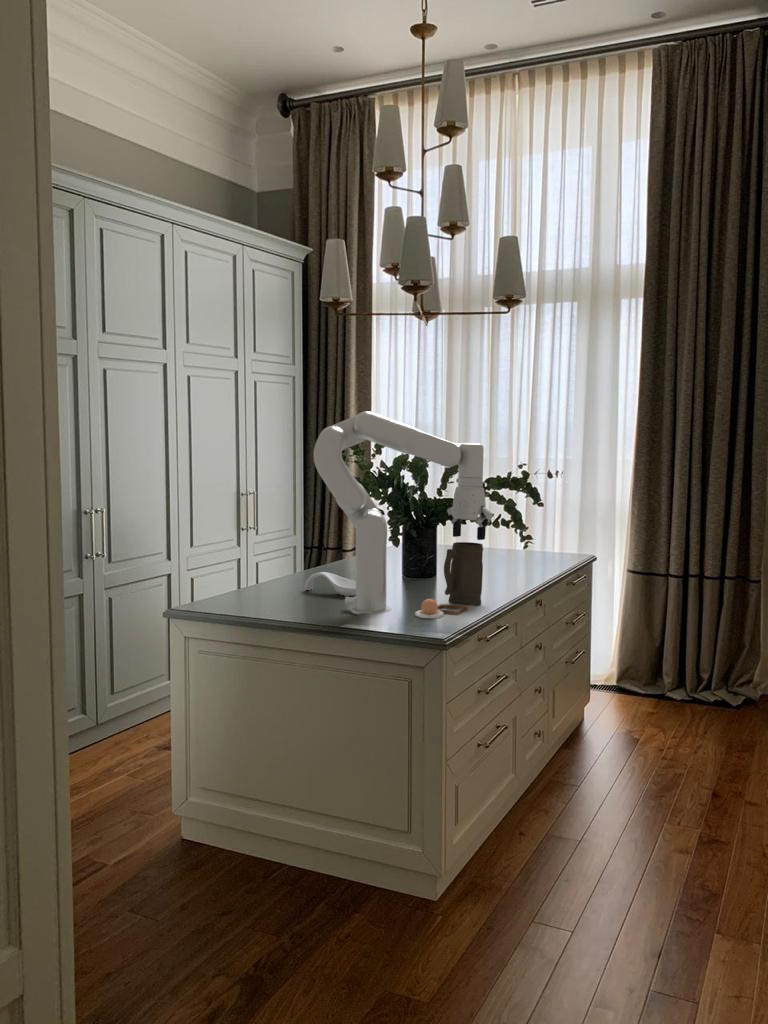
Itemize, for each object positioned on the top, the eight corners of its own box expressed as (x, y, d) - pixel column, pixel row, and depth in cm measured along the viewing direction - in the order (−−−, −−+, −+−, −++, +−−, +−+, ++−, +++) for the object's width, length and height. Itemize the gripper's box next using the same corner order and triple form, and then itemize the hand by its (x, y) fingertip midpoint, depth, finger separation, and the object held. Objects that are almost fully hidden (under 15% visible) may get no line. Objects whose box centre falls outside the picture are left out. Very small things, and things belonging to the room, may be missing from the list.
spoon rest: (374, 594, 318) (374, 573, 317) (358, 600, 307) (358, 578, 306) (315, 588, 328) (314, 568, 327) (297, 594, 318) (297, 573, 317)
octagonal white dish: (412, 620, 274) (412, 613, 274) (421, 615, 282) (421, 608, 282) (437, 622, 271) (437, 616, 271) (446, 617, 279) (446, 611, 278)
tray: (430, 615, 281) (430, 609, 281) (440, 610, 289) (440, 603, 289) (457, 618, 278) (458, 611, 277) (467, 612, 286) (467, 606, 286)
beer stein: (461, 599, 307) (462, 540, 306) (488, 603, 301) (489, 542, 299) (434, 606, 296) (435, 544, 294) (462, 610, 289) (462, 547, 287)
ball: (418, 616, 275) (418, 599, 275) (424, 613, 280) (424, 596, 279) (434, 617, 273) (434, 601, 273) (440, 614, 278) (440, 598, 277)
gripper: (441, 481, 287) (439, 536, 289) (484, 485, 275) (483, 541, 277) (456, 481, 292) (455, 534, 294) (500, 484, 280) (498, 540, 282)
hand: (468, 538), depth 285 cm, fingers open, 9 cm apart
